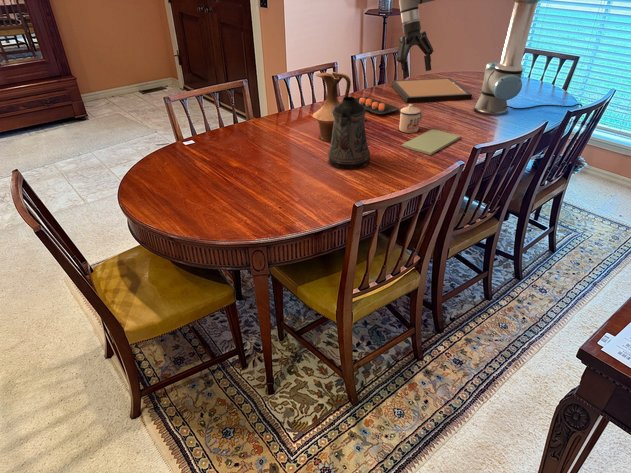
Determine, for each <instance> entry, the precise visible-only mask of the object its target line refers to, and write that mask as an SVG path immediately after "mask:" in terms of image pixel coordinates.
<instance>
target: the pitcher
mask: <svg viewBox="0 0 631 473" xmlns="http://www.w3.org/2000/svg"><path fill="white" fill-rule="evenodd" d="M315 77H319V78H321V79H322V80H323V81H324V83H325V85H326V96H325V97H326V98H325V101H324V102H323V105H322V106H321V107H320V108H319V109H317V111H315V112H314V113H313V114H312V118H313V119H314V120H317V123H318V128H319V135H320V136H319V138H320V139H321V140H322V141H323V142H331V140H332V131H333V124H334V117H333V114H332V111H333V109H334V108H335V107H336V106H337V105H338V104H339V103H340V101H339V99H338V96H337V86H338V84H339V83H340V82H341V80H342V79H344V80H345V81H346V86H345V93H344V97H349V94H350V91H351V85H352V84H351V83H352V82H351V78H350V77H349V75H348V74H346V73H340V72H336V71H332V73H329V72H320V73H316V74H315ZM344 97H343V98H344Z"/></svg>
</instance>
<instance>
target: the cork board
mask: <svg viewBox="0 0 631 473" xmlns="http://www.w3.org/2000/svg"><path fill="white" fill-rule="evenodd" d="M391 86H392V88H393V89H394V90H395V91H396V92H397V94H398V95H399V96H400V97H401V98H402V100H404V102H405V103H406V104H416V103H434V102H435V103H437V102H449V101H450V102H453V101H471V100H472V99H473V94H472V93H471V92H470V91H469V90H467V89H465V88H464V87H463V86H462V85H460V84H459V83H457V82H456V81H454V80H453V79H452V78H451V77H441V78H423V79H403V80H392V81H391Z"/></svg>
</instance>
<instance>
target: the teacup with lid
mask: <svg viewBox="0 0 631 473" xmlns="http://www.w3.org/2000/svg"><path fill="white" fill-rule="evenodd" d="M399 110H400V111H399V113H400V116H399V127H398V130H399V131H400V132H402V133H407V134H413V133H417V132H418V131H419V127H420V122H421V121H422V119H423V115H424V114H423V112H421V109H420V108H418V107H416V106H414V103H408V105H407V106H405V107H402V108H401V109H399Z"/></svg>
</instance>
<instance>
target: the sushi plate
mask: <svg viewBox="0 0 631 473" xmlns="http://www.w3.org/2000/svg"><path fill="white" fill-rule="evenodd" d="M354 98H355V100H356V101H357V102H358V103H359V104H360V105H362V106H363V107H364V109H365V111H366V112H369V113H372V114H375V115H378V116H383V115H389V114H391V113H395V112H398V111H399V110H400V108H399V107H397V106H396V105H392V104H390V103H386V102H384V101H380V100H377V99H375V98H372V97H369V96H359V97H354ZM364 122H367V119H366V117H364Z"/></svg>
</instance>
